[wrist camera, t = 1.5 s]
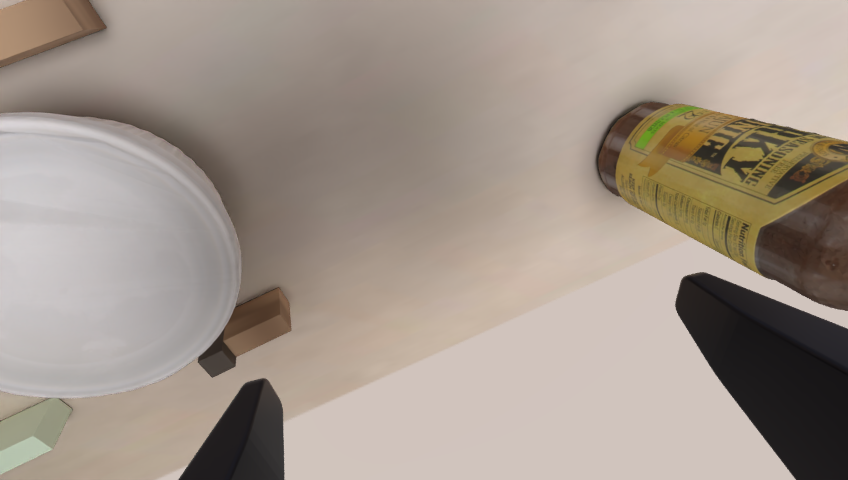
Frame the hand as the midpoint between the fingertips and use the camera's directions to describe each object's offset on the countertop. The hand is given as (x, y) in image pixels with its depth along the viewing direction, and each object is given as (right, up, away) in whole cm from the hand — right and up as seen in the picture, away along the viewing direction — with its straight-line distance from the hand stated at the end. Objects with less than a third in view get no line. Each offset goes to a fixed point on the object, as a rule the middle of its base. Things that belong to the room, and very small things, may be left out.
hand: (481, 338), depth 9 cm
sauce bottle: (+12, +8, +18) cm, 23 cm away
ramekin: (-15, +3, +11) cm, 19 cm away
